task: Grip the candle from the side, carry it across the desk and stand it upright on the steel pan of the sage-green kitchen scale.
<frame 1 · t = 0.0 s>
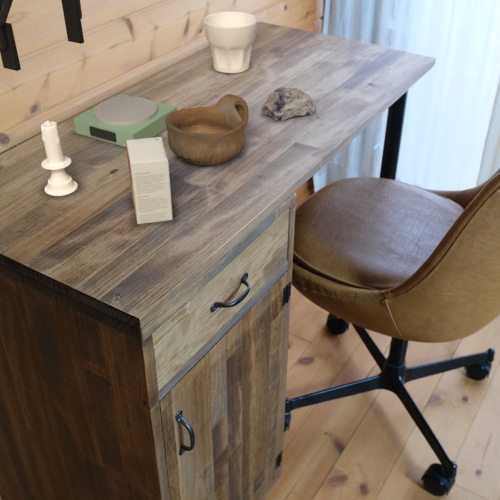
hand: (45, 54, 98), 21 cm above the table, tool pointing down, fingers open, 13 cm apart
bowl: (212, 153, 117), on the table
small box: (152, 210, 101), on the table
candle: (61, 189, 107), on the table
cup: (231, 67, 152), on the table
mineral specimen: (288, 116, 130), on the table
scale: (127, 127, 126), on the table
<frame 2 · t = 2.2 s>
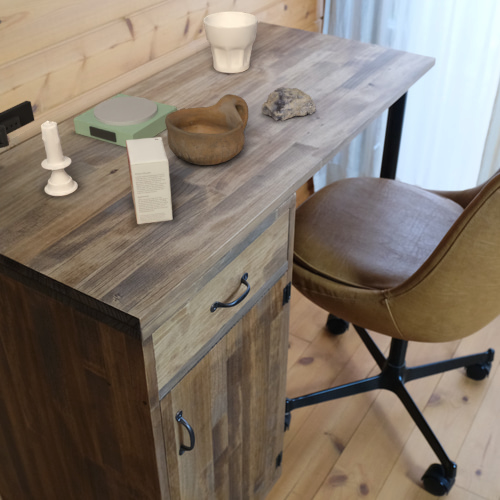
nothing on the table moved.
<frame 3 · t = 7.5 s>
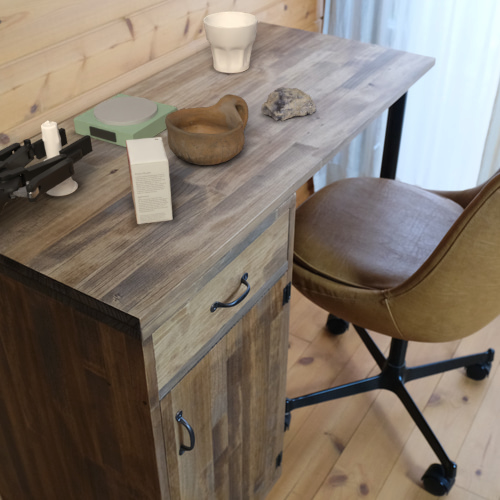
hand: (76, 139, 107), 7 cm above the table, tool horizontal, fingers closed on candle, 5 cm apart
candle: (61, 189, 107), on the table, touching gripper
everything else where it was.
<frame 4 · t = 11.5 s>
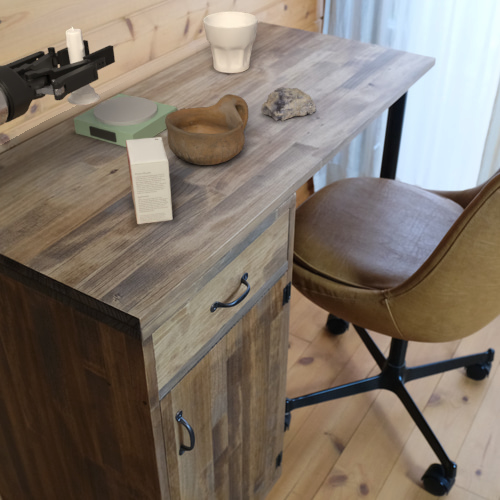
hand: (99, 51, 108), 18 cm above the table, tool horizontal, fingers closed on candle, 5 cm apart
candle: (84, 100, 108), point 11 cm above the table, touching gripper
everything else where it was.
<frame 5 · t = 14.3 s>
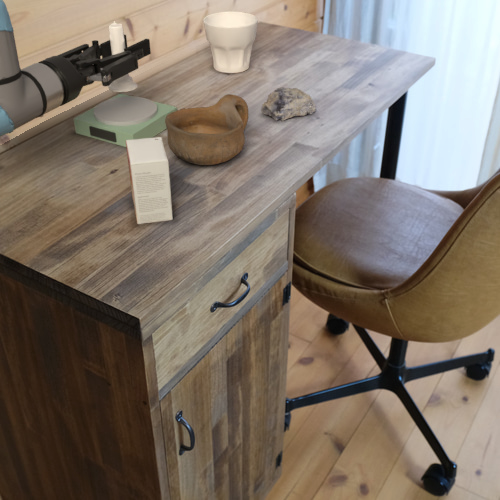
hand: (136, 44, 121), 15 cm above the table, tool horizontal, fingers closed on candle, 5 cm apart
candle: (123, 88, 121), point 8 cm above the table, touching gripper
everything else where it was.
when the fingers open (10 cm above the table, at t = 15.8 s): candle stays where it is, resting on scale.
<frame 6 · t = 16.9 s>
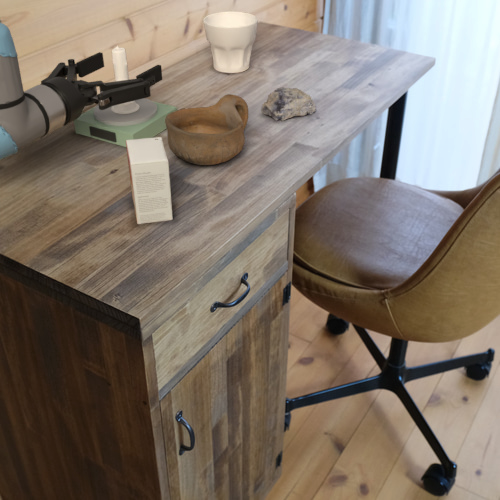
hand: (130, 65, 121), 11 cm above the table, tool horizontal, fingers open, 13 cm apart
candle: (125, 109, 123), point 4 cm above the table, touching scale
everything else where it was.
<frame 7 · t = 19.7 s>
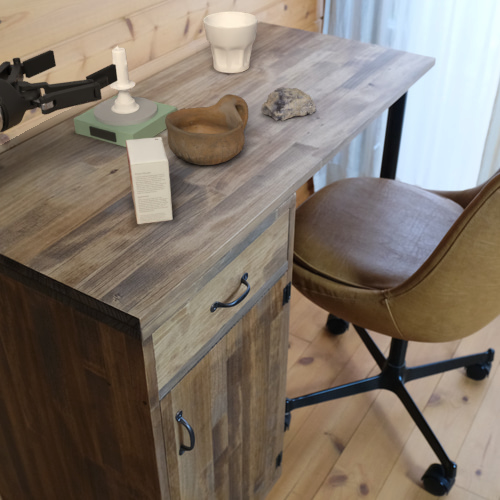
hand: (83, 64, 110), 15 cm above the table, tool horizontal, fingers open, 13 cm apart
nothing on the table moved.
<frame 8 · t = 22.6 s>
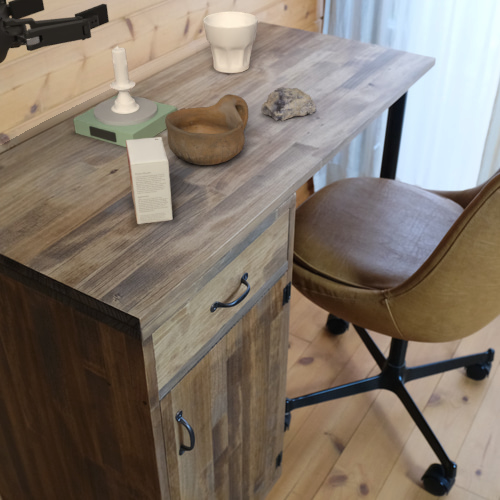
hand: (73, 6, 104), 25 cm above the table, tool horizontal, fingers open, 13 cm apart
nothing on the table moved.
at the end: candle inside the target area on the scale (0.0 cm from its centre), point 3.6 cm above the scale's base; candle tilted 0°; the gripper is holding nothing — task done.
